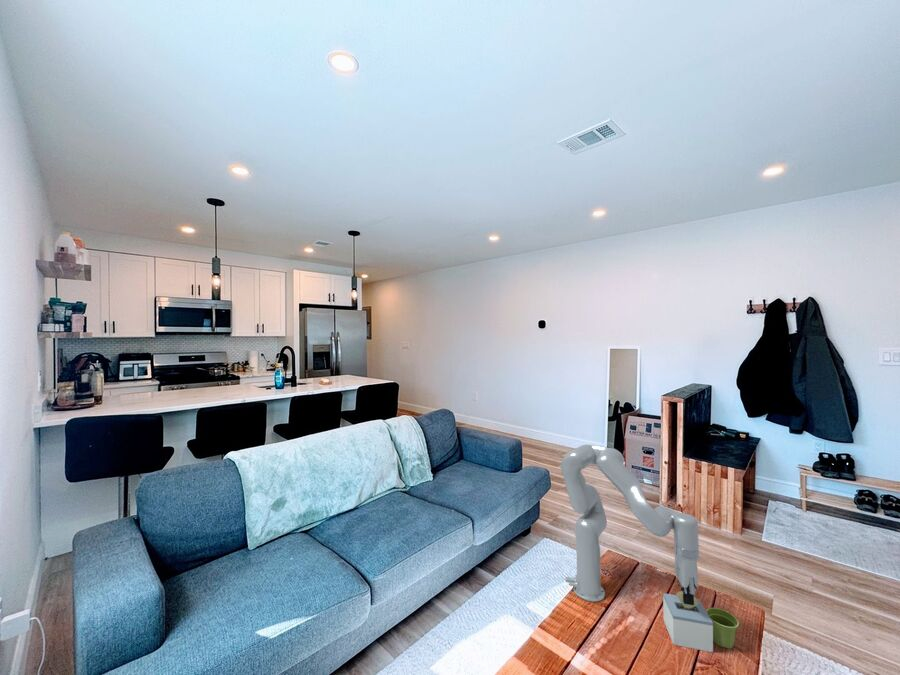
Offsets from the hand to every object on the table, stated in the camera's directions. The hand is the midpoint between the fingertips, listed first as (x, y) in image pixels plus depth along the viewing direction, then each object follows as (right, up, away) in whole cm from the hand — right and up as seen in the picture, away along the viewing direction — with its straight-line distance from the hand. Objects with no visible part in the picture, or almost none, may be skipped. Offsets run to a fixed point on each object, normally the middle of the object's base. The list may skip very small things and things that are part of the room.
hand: (687, 601), depth 132 cm
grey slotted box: (0, -12, 0) cm, 12 cm away
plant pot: (+10, -12, -3) cm, 16 cm away
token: (+1, -1, 0) cm, 2 cm away
